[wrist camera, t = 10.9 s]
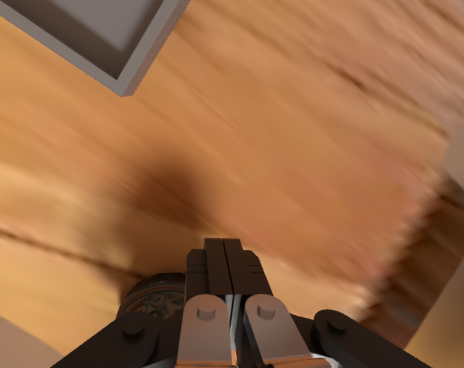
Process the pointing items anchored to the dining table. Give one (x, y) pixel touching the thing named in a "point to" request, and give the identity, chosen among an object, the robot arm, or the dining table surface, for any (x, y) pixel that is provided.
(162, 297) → the beer stein
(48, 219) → the dining table surface
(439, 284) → the dining table surface
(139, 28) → the tray
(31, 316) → the dining table surface
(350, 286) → the dining table surface
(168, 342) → the robot arm
